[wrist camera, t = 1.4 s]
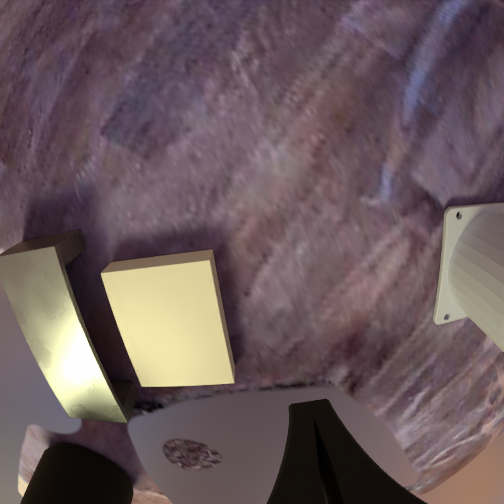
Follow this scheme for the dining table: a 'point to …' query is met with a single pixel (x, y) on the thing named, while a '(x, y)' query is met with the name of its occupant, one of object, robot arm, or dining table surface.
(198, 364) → the cream sticky note pad
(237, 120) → the dining table surface
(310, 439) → the robot arm
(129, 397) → the overhang
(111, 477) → the coffee jar
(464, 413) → the dining table surface
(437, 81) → the dining table surface
